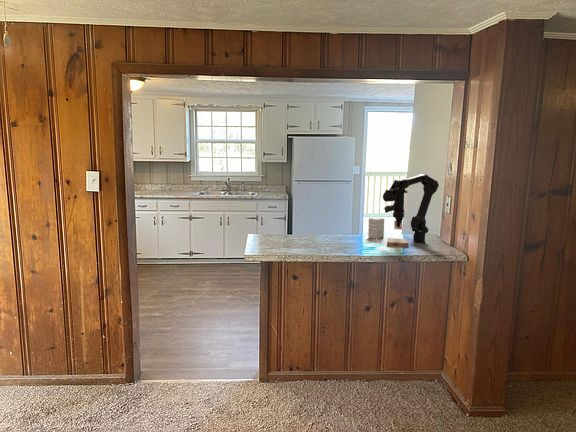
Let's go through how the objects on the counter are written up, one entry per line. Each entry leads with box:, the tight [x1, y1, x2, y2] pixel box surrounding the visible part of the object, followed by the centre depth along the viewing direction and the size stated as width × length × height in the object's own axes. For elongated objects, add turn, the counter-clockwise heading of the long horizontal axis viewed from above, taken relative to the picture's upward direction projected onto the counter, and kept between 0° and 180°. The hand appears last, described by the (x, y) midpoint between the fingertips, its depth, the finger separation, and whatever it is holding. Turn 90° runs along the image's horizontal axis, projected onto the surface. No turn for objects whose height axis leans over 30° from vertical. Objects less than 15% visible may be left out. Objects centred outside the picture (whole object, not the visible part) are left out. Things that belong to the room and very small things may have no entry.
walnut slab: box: [386, 237, 409, 248], centre depth 249 cm, size 12×12×3 cm
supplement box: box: [367, 216, 385, 240], centre depth 271 cm, size 7×7×13 cm
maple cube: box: [393, 220, 403, 230], centre depth 248 cm, size 4×4×4 cm
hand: (398, 226), depth 248 cm, fingers closed on maple cube, 4 cm apart
